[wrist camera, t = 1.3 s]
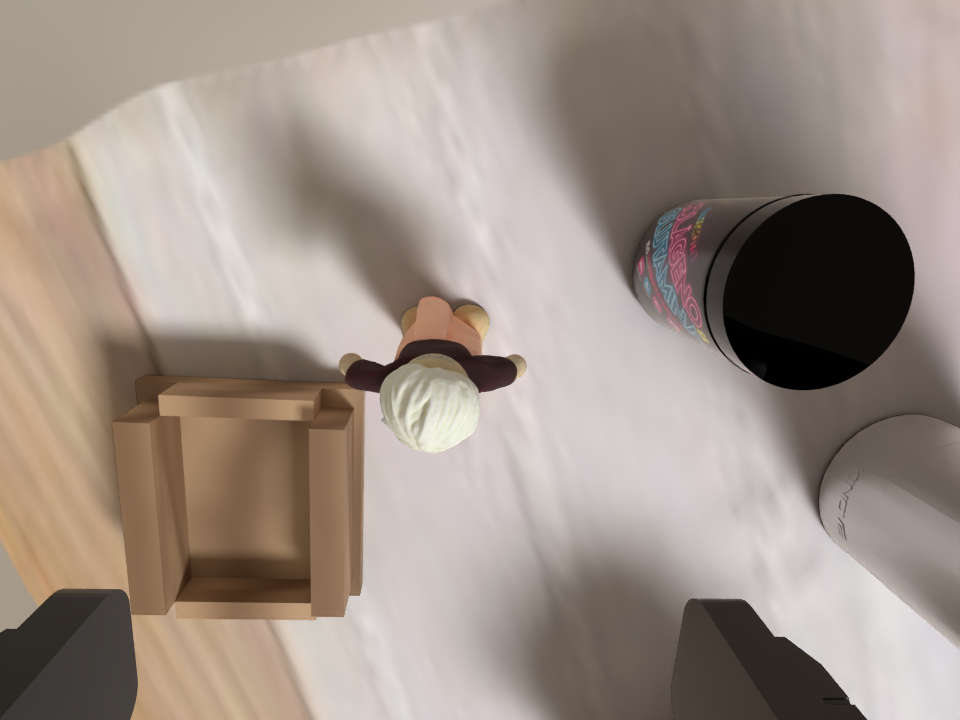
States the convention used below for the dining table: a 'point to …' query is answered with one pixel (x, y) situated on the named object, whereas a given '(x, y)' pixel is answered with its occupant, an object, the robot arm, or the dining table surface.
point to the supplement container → (780, 283)
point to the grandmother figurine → (435, 375)
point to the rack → (242, 497)
